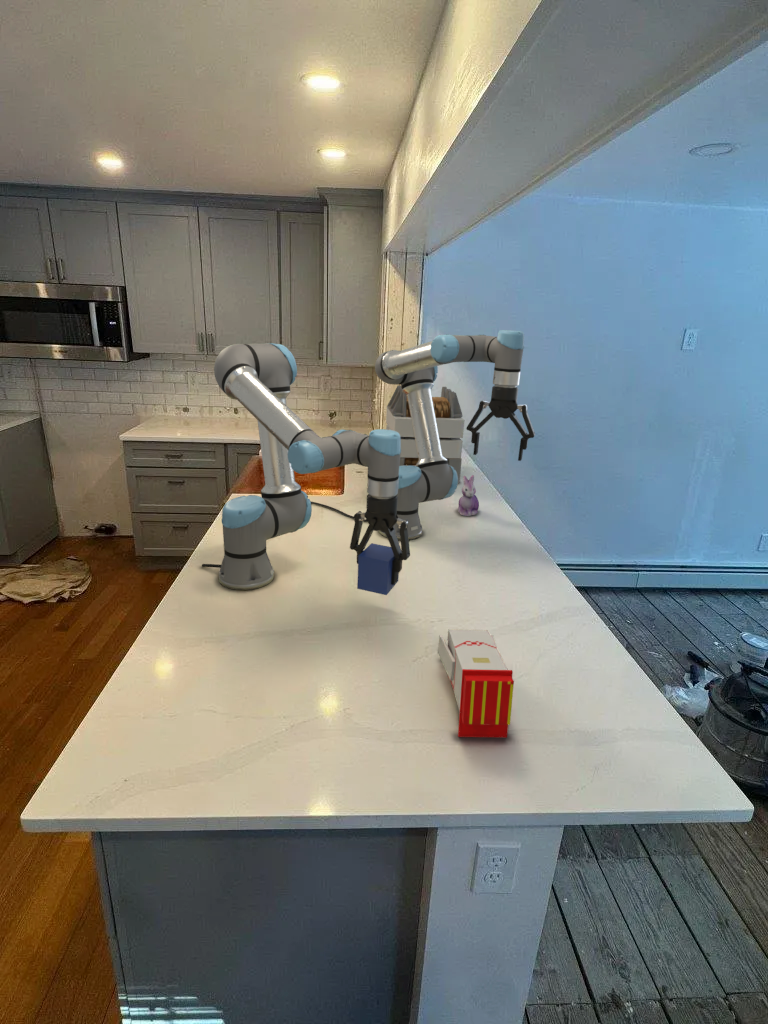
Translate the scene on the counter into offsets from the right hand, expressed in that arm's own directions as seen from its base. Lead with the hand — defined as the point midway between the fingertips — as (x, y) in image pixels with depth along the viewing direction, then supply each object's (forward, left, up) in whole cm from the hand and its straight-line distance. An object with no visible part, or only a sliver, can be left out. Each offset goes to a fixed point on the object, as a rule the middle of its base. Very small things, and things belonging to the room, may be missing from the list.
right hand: (497, 456), depth 172 cm
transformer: (-84, +51, -34) cm, 104 cm away
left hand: (+6, -51, -24) cm, 57 cm away
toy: (+43, -57, -34) cm, 78 cm away
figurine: (-32, +28, -34) cm, 54 cm away
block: (+6, -51, -26) cm, 57 cm away
